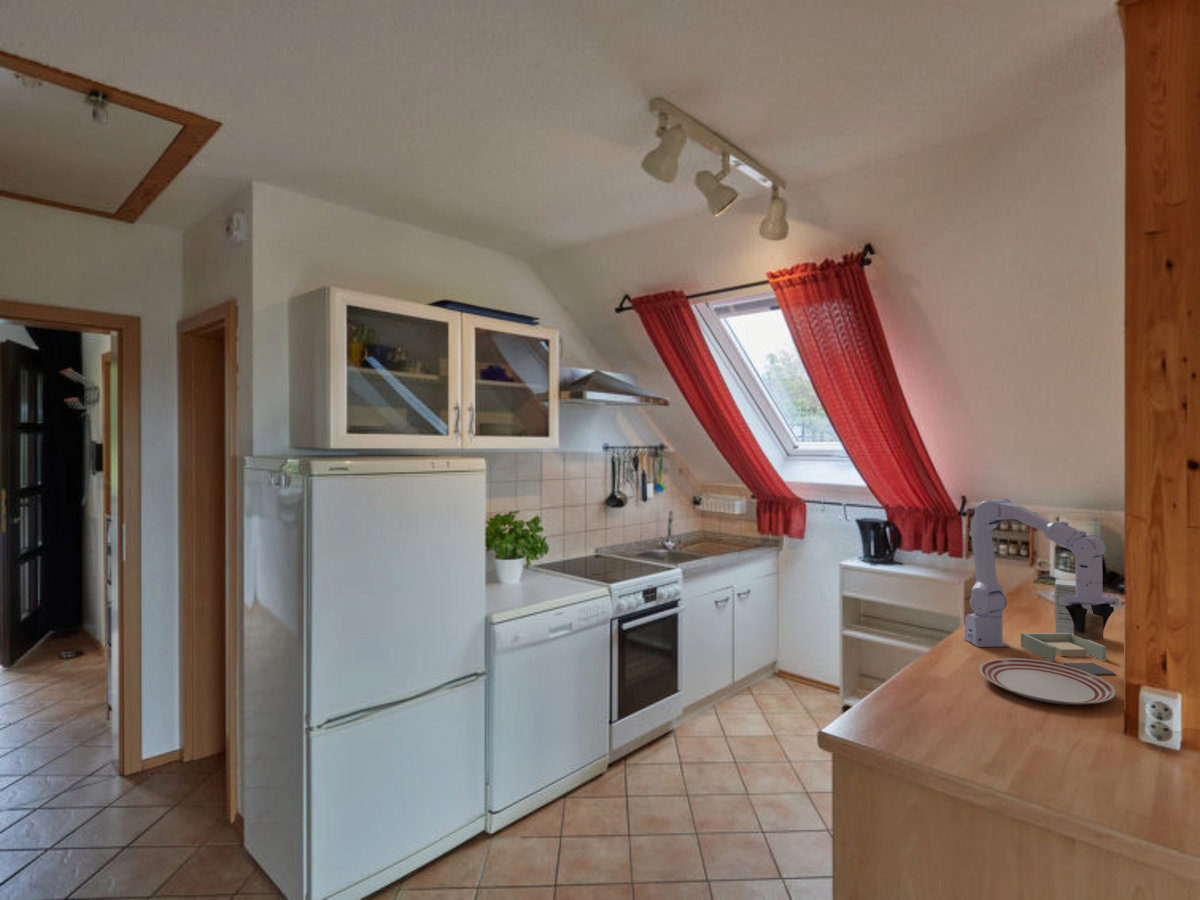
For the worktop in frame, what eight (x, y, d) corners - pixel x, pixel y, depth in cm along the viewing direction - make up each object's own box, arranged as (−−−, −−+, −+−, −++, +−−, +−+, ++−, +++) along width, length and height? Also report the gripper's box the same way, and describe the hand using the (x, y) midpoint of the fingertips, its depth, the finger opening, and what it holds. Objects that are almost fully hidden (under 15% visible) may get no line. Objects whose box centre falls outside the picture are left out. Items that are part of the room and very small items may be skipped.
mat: (1085, 675, 164) (1085, 673, 164) (1063, 664, 172) (1063, 663, 172) (1116, 675, 164) (1116, 673, 164) (1093, 664, 172) (1093, 662, 172)
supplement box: (1092, 643, 190) (1091, 587, 190) (1054, 637, 196) (1054, 583, 196) (1091, 635, 198) (1091, 581, 198) (1055, 630, 203) (1055, 578, 203)
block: (1086, 639, 166) (1085, 617, 166) (1073, 635, 171) (1073, 612, 171) (1103, 639, 166) (1103, 616, 166) (1090, 634, 171) (1089, 612, 171)
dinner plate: (1143, 718, 139) (1143, 703, 139) (1006, 709, 145) (1006, 694, 145) (1076, 673, 166) (1076, 661, 166) (963, 667, 172) (963, 655, 172)
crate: (1051, 661, 175) (1051, 647, 175) (1021, 646, 188) (1020, 633, 188) (1106, 661, 174) (1106, 646, 174) (1071, 646, 187) (1071, 632, 187)
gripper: (1072, 584, 164) (1073, 636, 164) (1128, 584, 164) (1129, 636, 164) (1053, 579, 171) (1053, 628, 171) (1107, 578, 171) (1107, 628, 171)
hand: (1089, 631), depth 168 cm, fingers closed on block, 4 cm apart
